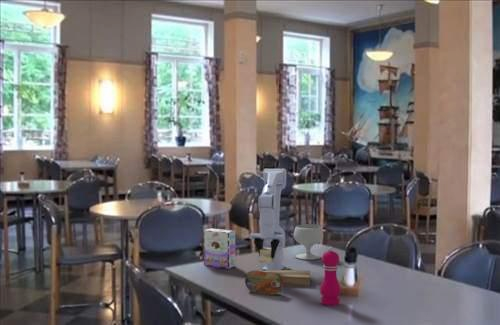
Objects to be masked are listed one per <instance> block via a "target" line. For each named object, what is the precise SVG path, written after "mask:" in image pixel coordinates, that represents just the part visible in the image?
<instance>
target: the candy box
mask: <svg viewBox="0 0 500 325" xmlns="http://www.w3.org/2000/svg"><path fill="white" fill-rule="evenodd" d="M203 266H205V267H211V268H219V269H226V270H229V269H233V268H235V267H236V266H237V265H236V231H235V230H231V229H223V228H221V229H220V228H212V227H211V228H206V229H203Z"/></svg>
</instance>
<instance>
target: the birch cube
mask: <svg viewBox="0 0 500 325" xmlns="http://www.w3.org/2000/svg"><path fill="white" fill-rule="evenodd" d="M273 261H274V258H271V248H265V247H263V248H262V249H260V257H259V263H263V264H265V263H271V262H273Z"/></svg>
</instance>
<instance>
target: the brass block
mask: <svg viewBox="0 0 500 325" xmlns="http://www.w3.org/2000/svg"><path fill="white" fill-rule="evenodd" d="M265 271H270V272H276V273H278V274H279V275H280V276H281V277H282V279H283V287H285V286H286V287H287V286H288V287H290V286H291V287H311V270H293V269H292V270H291V269H290V270H288V269H287V270H286V269H284V270H283V269H281V270H265Z"/></svg>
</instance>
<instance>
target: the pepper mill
mask: <svg viewBox="0 0 500 325" xmlns="http://www.w3.org/2000/svg"><path fill="white" fill-rule="evenodd" d="M321 261H322V263H323V267H322V268H323V271H324V276H323V281H321V282H322V283H321V285H320V288H319V293H320V295H321V296H322V297H321V298H320V299H321V304H322V305H325V306H329V307H330V306H332V307H333V306H338V305H339V304H340V298H339V296H340V295H341V293H342V290H341V286H340V283H339V280H338V276H337V270H338V268H339V265H338V263H340V255H339V254H338V253H337V252H336V251H334V247H332V246H330V247H328V251H325V252H324V253H323V254H322V255H321Z"/></svg>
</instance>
